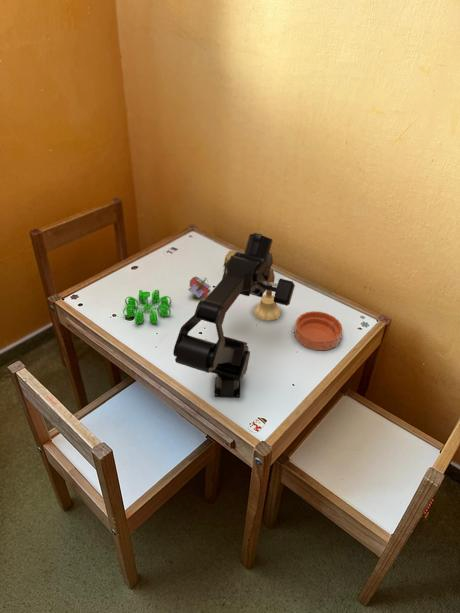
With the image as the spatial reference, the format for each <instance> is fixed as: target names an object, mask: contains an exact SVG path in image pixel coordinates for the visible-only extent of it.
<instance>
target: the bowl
mask: <svg viewBox="0 0 460 613" xmlns="http://www.w3.org/2000/svg"><path fill="white" fill-rule="evenodd" d="M342 333H343V325H342V323H341V322H340V320H339V319H338V318H336V317H335V316H333V315H331V314H329V313H327V312H323V311H317V310H316V311H314V310H312V311H307V312H303V313H302V314H300V315H299V316H298V317H297V318H296V321H295V326H294V337H295V339H296V340H297V342H299V343H300V344H301V345H302V346H303V347H306V348H308V349H311V350H315V351H328V350H331V349H334V348H336V347H337V346H338V345H339V344H340V342H341V338H342Z"/></svg>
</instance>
